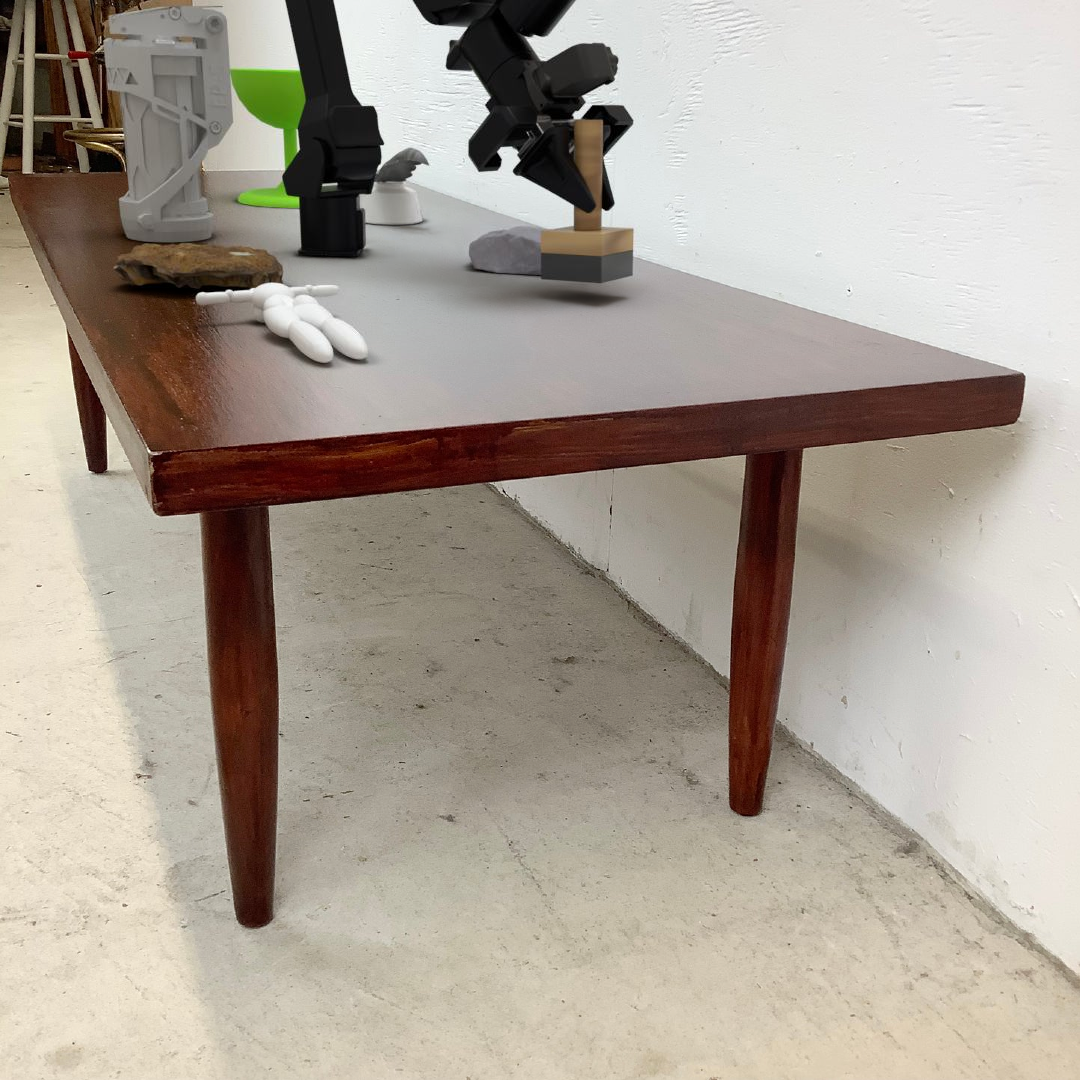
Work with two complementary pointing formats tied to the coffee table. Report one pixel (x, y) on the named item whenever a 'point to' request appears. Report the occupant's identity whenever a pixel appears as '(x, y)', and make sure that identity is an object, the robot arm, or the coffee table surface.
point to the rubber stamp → (587, 225)
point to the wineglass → (272, 120)
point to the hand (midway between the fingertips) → (601, 209)
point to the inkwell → (394, 191)
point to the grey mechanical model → (169, 115)
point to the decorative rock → (199, 266)
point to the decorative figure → (297, 318)
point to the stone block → (508, 251)
